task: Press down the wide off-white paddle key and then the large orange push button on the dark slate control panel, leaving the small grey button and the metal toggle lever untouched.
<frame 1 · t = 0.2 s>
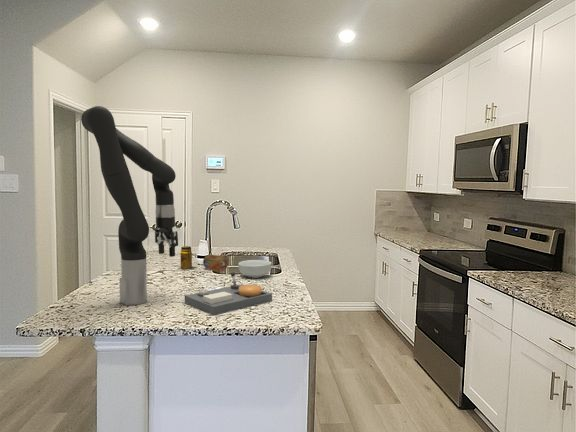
hand: (166, 255, 171), 17 cm above the counter, tool pointing down, fingers open, 8 cm apart
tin: (215, 270, 225), on the counter
orange button: (250, 290, 167), point 4 cm above the counter, slide at 0.0 cm
condiment: (187, 268, 229), on the counter
toggle lever: (233, 276, 175), point 8 cm above the counter, hinge at -20.0°
grey button: (203, 292, 164), point 4 cm above the counter, slide at 0.0 cm
paddle key: (217, 297, 157), point 4 cm above the counter, slide at 0.0 cm
cereal bowl: (254, 276, 212), on the counter
control panel: (228, 301, 165), on the counter
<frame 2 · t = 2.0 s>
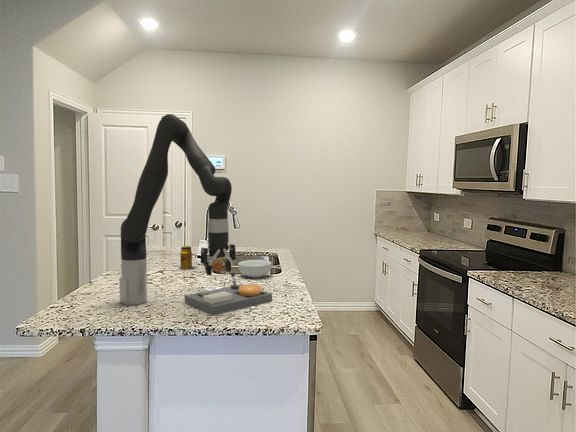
hand: (218, 273, 157), 13 cm above the counter, tool pointing down, fingers open, 8 cm apart
nothing on the counter moved.
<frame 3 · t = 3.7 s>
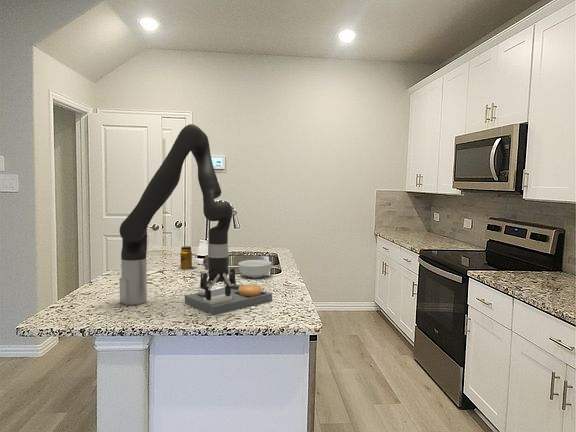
hand: (218, 297, 157), 4 cm above the counter, tool pointing down
paddle key: (217, 300, 157), point 3 cm above the counter, slide at 1.1 cm, touching gripper
everything else where it was.
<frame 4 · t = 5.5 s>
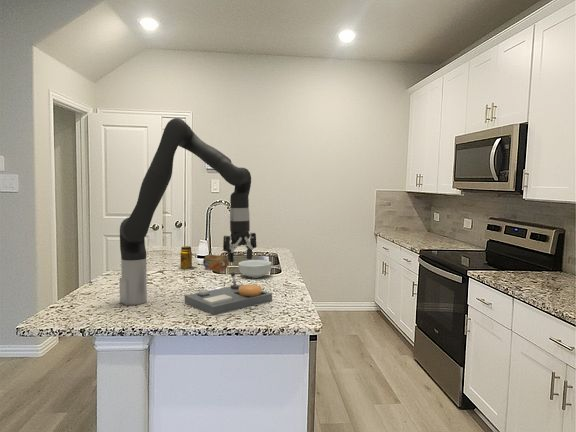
hand: (240, 260, 162), 17 cm above the counter, tool pointing down, fingers open, 8 cm apart
paddle key: (217, 300, 157), point 3 cm above the counter, slide at 1.1 cm
everything else where it was.
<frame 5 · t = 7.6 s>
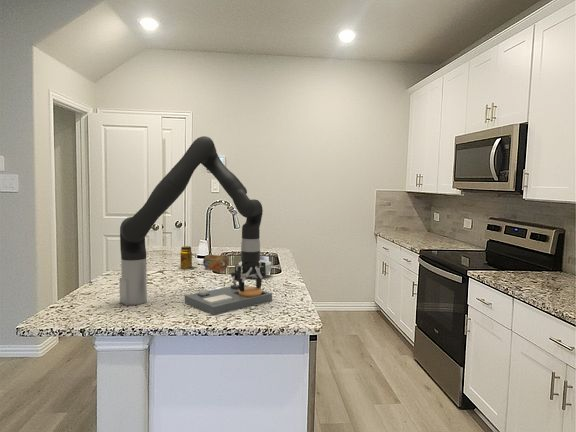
hand: (250, 289, 168), 5 cm above the counter, tool pointing down
orange button: (250, 292, 167), point 3 cm above the counter, slide at 0.8 cm, touching gripper
everything else where it was.
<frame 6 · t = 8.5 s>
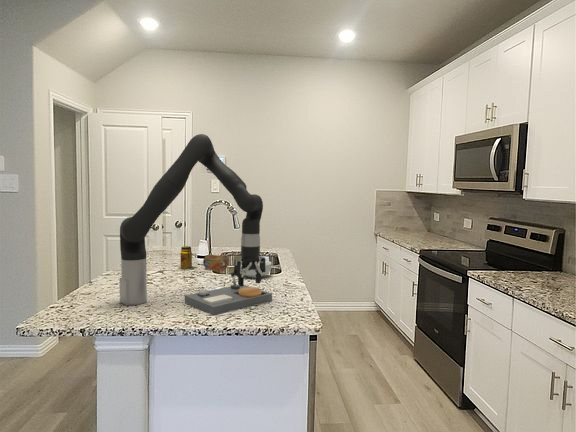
hand: (249, 284, 167), 7 cm above the counter, tool pointing down, fingers open, 8 cm apart
orange button: (250, 293, 167), point 3 cm above the counter, slide at 1.1 cm
everything else where it was.
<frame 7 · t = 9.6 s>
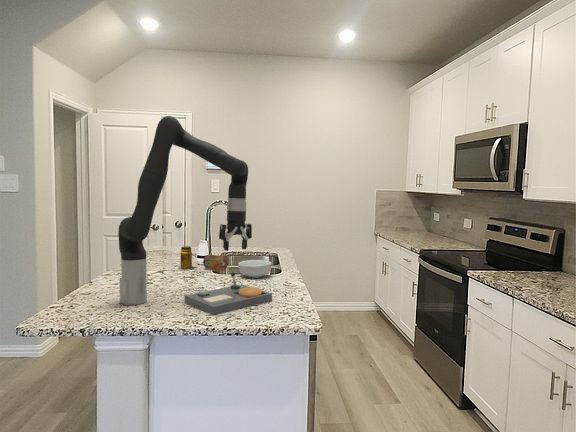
hand: (235, 249, 168), 20 cm above the counter, tool pointing down, fingers open, 8 cm apart
nothing on the counter moved.
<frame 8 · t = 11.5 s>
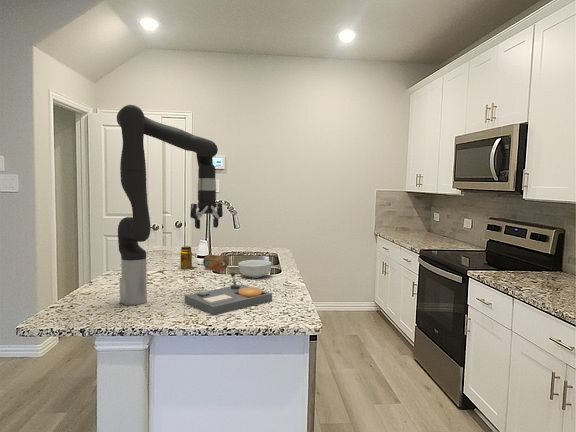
hand: (206, 228, 175), 28 cm above the counter, tool pointing down, fingers open, 8 cm apart
nothing on the counter moved.
at the end: paddle key slide at 1.1 cm; orange button slide at 1.1 cm; grey button slide at 0.0 cm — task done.
